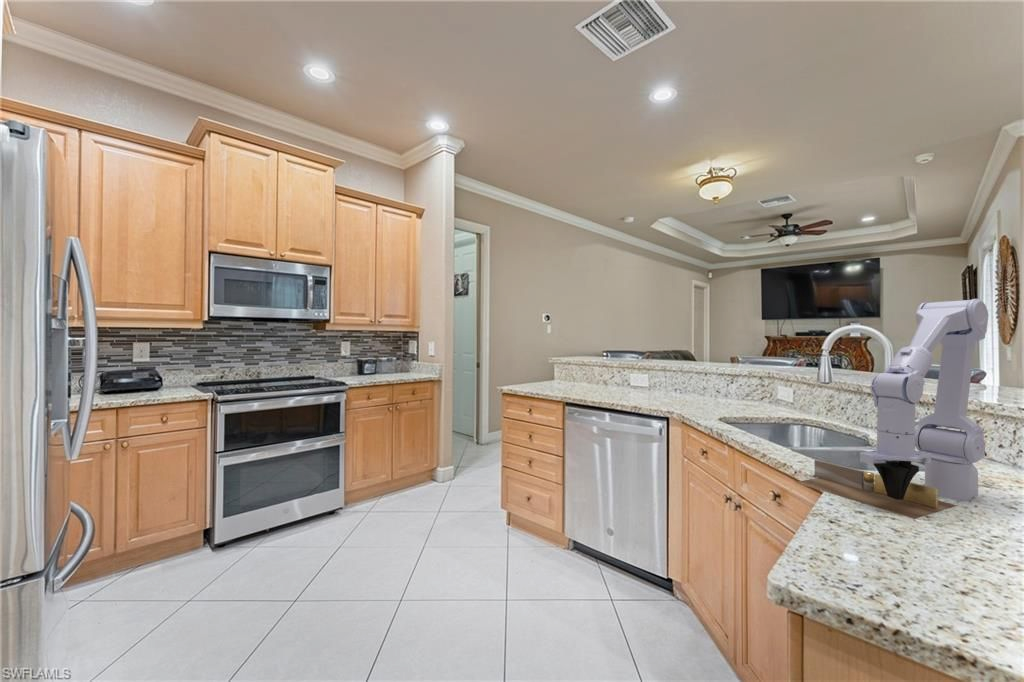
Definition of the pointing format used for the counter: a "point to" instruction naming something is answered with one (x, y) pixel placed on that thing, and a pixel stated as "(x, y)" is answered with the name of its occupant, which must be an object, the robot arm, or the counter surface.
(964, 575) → the counter surface
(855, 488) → the hinge base
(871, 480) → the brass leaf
